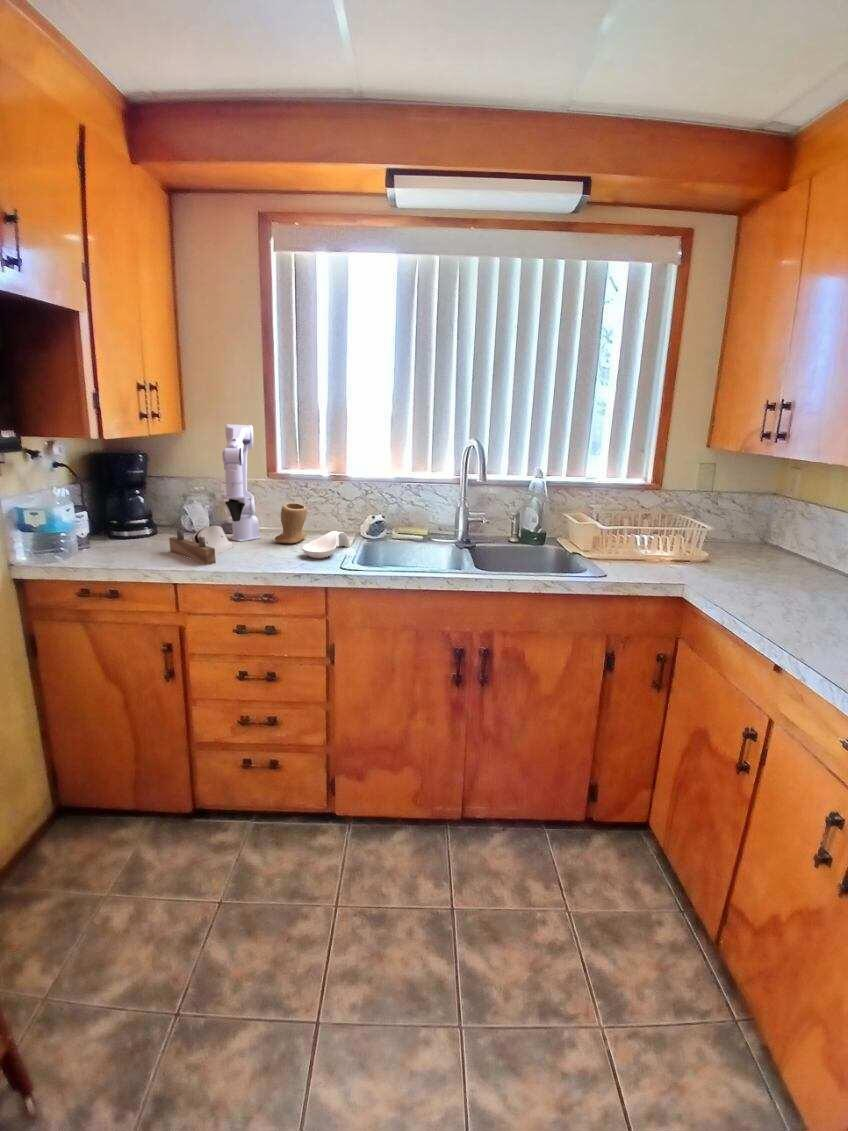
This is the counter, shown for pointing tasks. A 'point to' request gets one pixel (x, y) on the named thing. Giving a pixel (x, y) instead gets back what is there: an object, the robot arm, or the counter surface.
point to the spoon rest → (325, 544)
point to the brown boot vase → (292, 523)
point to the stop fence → (192, 549)
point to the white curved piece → (213, 538)
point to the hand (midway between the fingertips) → (236, 520)
